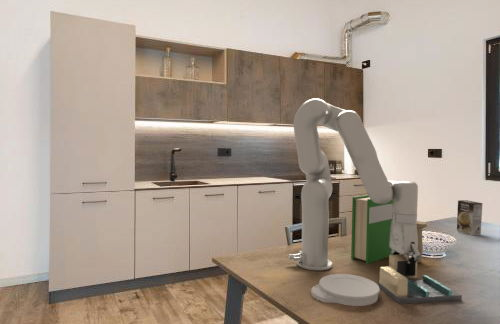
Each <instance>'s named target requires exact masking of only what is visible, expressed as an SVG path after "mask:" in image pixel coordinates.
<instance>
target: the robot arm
mask: <svg viewBox="0 0 500 324" xmlns="http://www.w3.org/2000/svg"><path fill="white" fill-rule="evenodd" d="M318 125H319V126H322V127H323V128H324V127H325V128H327V129H329V130H333V131H335V132H337V133H338V135H339V137H340V139H341V140H342V142H343V144H344V146H345V148H346V151H347V152H348V155H349V157H350V159H351V162H352V164H353V166H354V167H355V169H356V172H357V174H358V176H359V179H360V181H361V183H362V185H363V187H364V189H365V191H366V193H367V194H366V195H368V196H369V198H370V199H371V200H372V201H373V202H375V203H377V204H385V203H387V202H389V201H390V200H392V201H393V209H392V222H391V227H390V235H389V247H390V248H391V254H392V255H405V257H406V261H407V263H405V275H407V276H408V275H415V267H416V263H417V264H418V262H417V261H418V258H419V257H420V253H419V251H418V235H417V226H416V224H417V221H418V198H419V197H418V195H419V194H418V193H419V189H418V188H419V186H418V184H417V182H416V181H411V180H398V181H397V180H390V179H388V178H387V176H386V174H385V172H384V170H383V167H382V165H381V163H380V161H379V158H378V155H377V154H378V153H377V151H376V147H375V146H374V144H373V142H372V140H371V138H370V136H369V134H368V132H367V129H366V128H365V126H364V124H363V122H362V119H361V117H360V115H359V114H358V113H357V112H356V111H354V110H351V109H347V110H346V109H343V108H340V107H337V106H334V105H332V104H330V103H327V102H326V101H325V100H323V99H320V98H318V97H317V98H315V97H314V98H311V99H308V100H306V101H305V102H303V103H302V105H300V107H299V108H298V109H297V111H296V113H295V115H294V119H293V132H294V138H295V139H294V140H295V147H296V153H297V161H298V167H299V169H300V170H301V172H302V173H303V174H305V178H306V180H305V183H304V184H303V186H302V188H301V192H300V198H301V199H300V200H301V250H299V251H298V252H297V253H288V256H287V257H288V260H293V261H294V262H296V264H297V265H298V267H300V268H302V269H305V270H309V271H318V272H319V271H327V270H330V269H331V268H332V267H333V262H332V261H331V260H330V259H329V232H330V231H329V228H330V227H329V225H330V224H329V223H330V222H329V220H330V219H329V218H330V209H329V205H330V204H329V198H330V197H331V195H332V193H333V182H332V176H331V169H330V165H329V160H328V156H327V155H326V153H325V152H324V151H323V150H322V148H321V143H320V137H319V131H318ZM409 256H412V257H411V258H409Z"/></svg>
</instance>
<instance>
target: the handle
mask: <svg viewBox="0 0 500 324" xmlns="http://www.w3.org/2000/svg"><path fill="white" fill-rule="evenodd" d="M416 226H417V235H418V251H419V253H420V257H419V258H418V261H417V263H421V262H422V256H423V245H424V244H423V229H425V228H427V227H428V223H427V222H425V221H420V220H417V224H416Z"/></svg>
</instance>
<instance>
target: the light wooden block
mask: <svg viewBox="0 0 500 324" xmlns="http://www.w3.org/2000/svg"><path fill="white" fill-rule="evenodd" d="M411 257H412V256H409V258H411ZM405 263H407V261H406V257H405V255H402V254H399V255H389V257H388V267H390V268H392V269H394V270H395V271H397V272H398V273H400V274H401V275H403V276H406V277H408V278H409V279H417V278H418V262H417V263H416V267H415V275H408V276H407V275H405Z"/></svg>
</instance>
